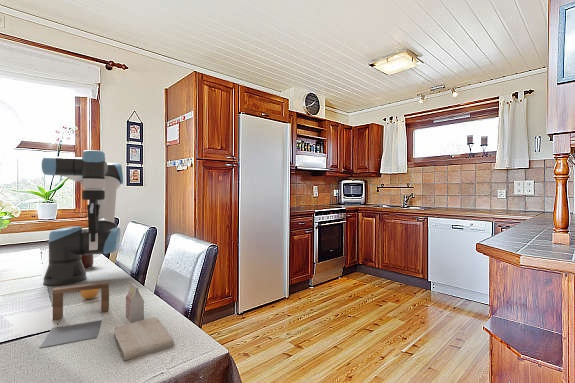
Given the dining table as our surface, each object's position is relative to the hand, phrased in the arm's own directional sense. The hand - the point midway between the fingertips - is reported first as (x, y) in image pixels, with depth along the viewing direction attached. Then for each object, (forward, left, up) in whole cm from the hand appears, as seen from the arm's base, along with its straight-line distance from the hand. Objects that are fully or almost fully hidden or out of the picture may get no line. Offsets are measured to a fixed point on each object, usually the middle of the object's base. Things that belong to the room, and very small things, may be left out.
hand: (93, 249), depth 118 cm
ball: (+9, 0, -14) cm, 17 cm away
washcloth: (+52, +17, -17) cm, 57 cm away
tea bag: (+35, +15, -17) cm, 42 cm away
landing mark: (+39, 0, -16) cm, 43 cm away
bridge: (+25, 0, -16) cm, 30 cm away
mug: (-45, -10, -17) cm, 49 cm away
